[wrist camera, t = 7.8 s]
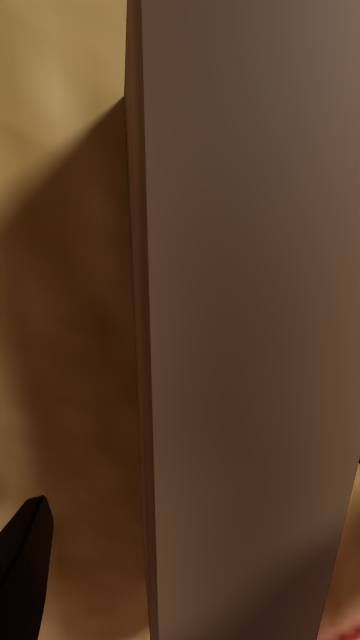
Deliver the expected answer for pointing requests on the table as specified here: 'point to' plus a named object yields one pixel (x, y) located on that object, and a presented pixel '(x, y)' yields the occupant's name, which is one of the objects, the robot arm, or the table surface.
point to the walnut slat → (244, 306)
